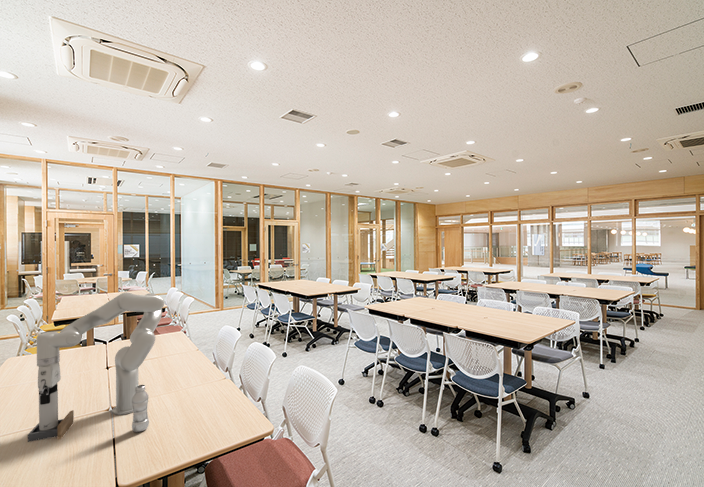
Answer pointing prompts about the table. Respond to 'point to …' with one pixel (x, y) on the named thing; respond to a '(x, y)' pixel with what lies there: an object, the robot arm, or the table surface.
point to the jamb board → (65, 424)
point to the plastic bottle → (140, 409)
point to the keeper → (42, 433)
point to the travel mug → (49, 411)
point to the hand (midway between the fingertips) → (48, 399)
